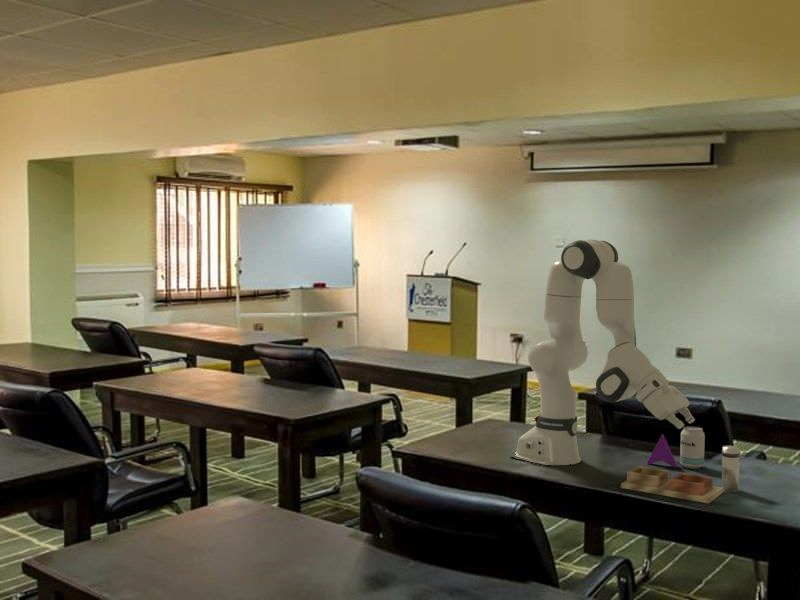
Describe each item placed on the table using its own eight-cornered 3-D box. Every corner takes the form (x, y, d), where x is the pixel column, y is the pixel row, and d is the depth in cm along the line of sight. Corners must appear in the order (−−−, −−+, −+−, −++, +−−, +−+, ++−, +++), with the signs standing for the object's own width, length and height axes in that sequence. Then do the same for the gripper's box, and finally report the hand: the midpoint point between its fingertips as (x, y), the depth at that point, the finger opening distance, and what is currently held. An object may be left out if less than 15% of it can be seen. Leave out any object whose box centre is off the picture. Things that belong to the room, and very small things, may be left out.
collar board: (620, 487, 222) (621, 472, 222) (638, 477, 232) (638, 463, 232) (709, 503, 207) (709, 487, 207) (723, 492, 218) (723, 476, 217)
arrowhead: (661, 480, 246) (638, 455, 249) (662, 478, 247) (639, 454, 250) (685, 460, 242) (661, 435, 245) (686, 459, 244) (662, 434, 247)
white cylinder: (719, 490, 219) (719, 447, 218) (723, 487, 223) (724, 444, 222) (736, 493, 216) (737, 450, 216) (741, 489, 220) (742, 447, 219)
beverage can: (675, 466, 245) (676, 427, 244) (687, 462, 249) (688, 425, 249) (696, 471, 239) (697, 431, 239) (708, 467, 244) (709, 428, 243)
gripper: (658, 389, 241) (690, 425, 236) (633, 398, 225) (667, 437, 219) (673, 376, 238) (706, 412, 233) (649, 384, 222) (683, 423, 217)
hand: (687, 424), depth 226 cm, fingers open, 8 cm apart
